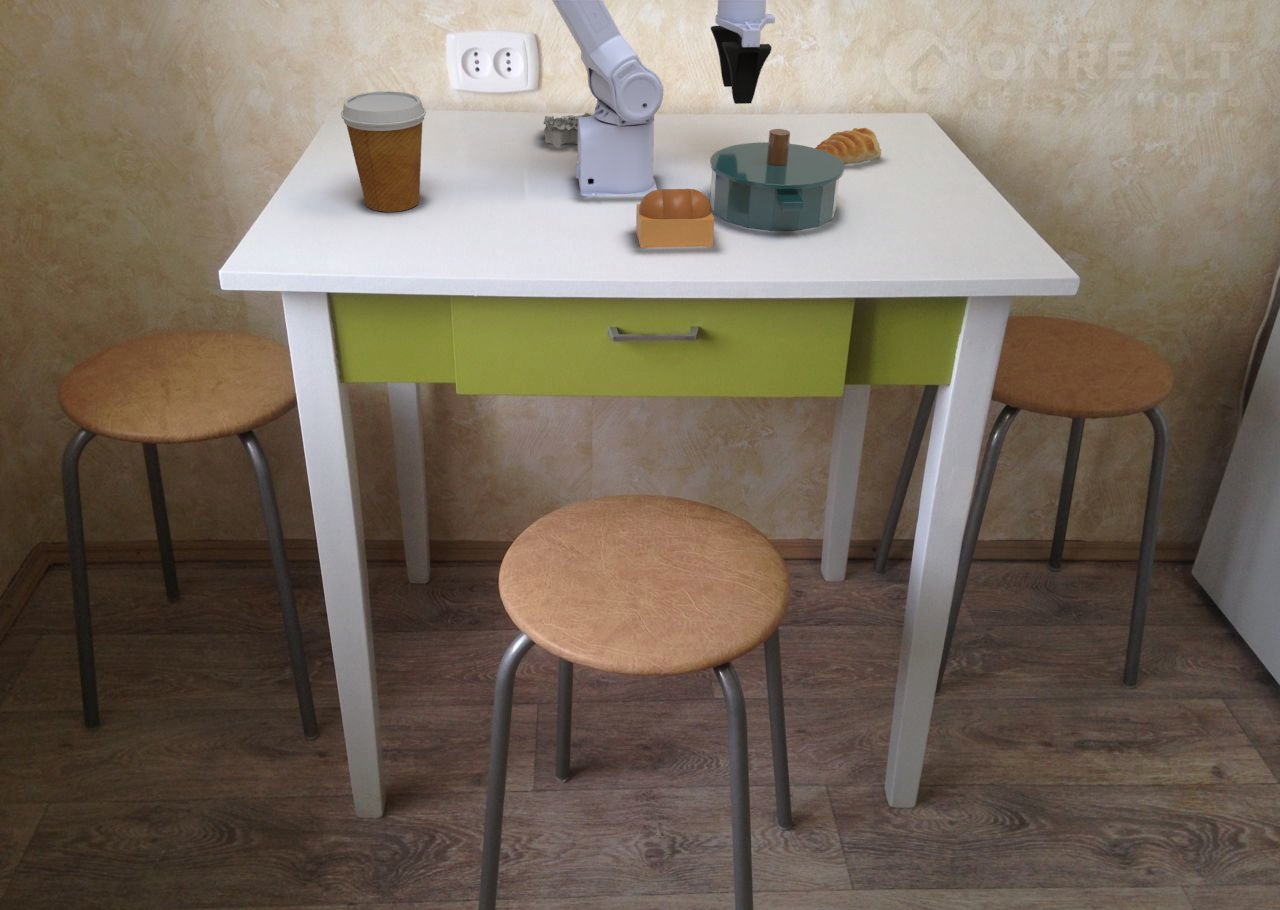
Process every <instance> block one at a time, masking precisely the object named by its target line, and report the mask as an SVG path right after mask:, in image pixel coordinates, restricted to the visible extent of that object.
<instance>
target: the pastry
mask: <svg viewBox="0 0 1280 910" xmlns="http://www.w3.org/2000/svg"><path fill="white" fill-rule="evenodd" d="M814 148H815V149H819V150H822V151H825V152H828V153H830V154H832V155H834V156H836V157H837V158H839V159H840V160H841V161H842V162H843V164H844V165H853V164H859V163H861V162H868V161H873V160H877V159H879V158H880V157H881V156H882V155H881V154H882V149H881V147H880V142H879V141H878V138H877V134H876V133H875V132H874V131H873V130H871V129H870V128H868V127H861V128H860V127H859V128H858V127H854V128H853V129H852V130H843V131H837V132H834V133H832V134H831V135H830V136H829V137H828V138H826V139H824V140H822V141H821V142H820V143H819V144H817V146H816V147H814Z"/></svg>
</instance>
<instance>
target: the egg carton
mask: <svg viewBox="0 0 1280 910" xmlns="http://www.w3.org/2000/svg"><path fill="white" fill-rule="evenodd" d="M593 115H595V113H590V112H585V113H584V114H580V115H572V114H570V115H563V116H561V117H555V116H554V115H552V116H549V115H545V116H544V119H543V125H545V127H544V143H545V144H551V145H553V146H557V147H558V146H559V147H560V146H562V145H564V144H574V145H578V118H580V117H588V116H593Z"/></svg>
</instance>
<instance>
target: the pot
mask: <svg viewBox="0 0 1280 910" xmlns="http://www.w3.org/2000/svg"><path fill="white" fill-rule="evenodd" d="M710 181H711V182H710V199H709V202H710V205H711V211H712V212H713V213H714V214H715V215H716V216H717V217H719V218H720V219H721V220H723V221H725V222H728V223H730V224H732V225H735V226H741V227H743V228H748V229H753V230H758V231H759V230H761V231H772V232H792V231H795V232H796V231H803V230H809V229H814V228H818V227H821V226H823V225H825V224H827V223H828V222H830V221H832V220H833V218H834V216H835V213H836V210H837V201H838V193H839V186H840V185H839V184H840V178H839V179H838V180H836V181H835V182H832V183H830V184H826V185H823V186H818V187H812V188H803V189H772V188H762V187H755V186H750V185H745V184H741V183H737V182H734V181H731V180H728V179H726V178H723V177H721V176H720V175H718V174H717V173H715V172H714V171H713V170H712V169H711V180H710Z"/></svg>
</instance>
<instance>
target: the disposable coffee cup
mask: <svg viewBox="0 0 1280 910" xmlns="http://www.w3.org/2000/svg"><path fill="white" fill-rule="evenodd" d="M342 108H343V109H342V111H341V112H340V117H341V119H342V120H343V122H344V125H345V126H346V130H347V133H348V137H349V141H350V145H351V149H352V153H353V158H354V161H355V165H356V169H357V174H358V177H359V183H360V186H361V190H362V196H363V200H364V203H365V206H366V208H369V209H370V210H373V211H376V212H377V211H378V212H385V213H386V212H388V213H391V212H393V213H394V212H402V211H406V210H411V209H412V208H415V207H417V206H418V205H419V204H420V191H421V189H420V188H421V187H420V185H421V167H422V164H421V163H422V143H423V142H422V141H423V136H422V135H423V122H424V120H425V116H426V114H427V110H426V109H425V107H423V103H422V99H421V98H420V97H419V96H417V95H415V94H413V93H410V92H404V91H389V90H385V91H381V90H379V91H368V92H362V93H357V94H354V95H352V96H349V97H347V98H346V99H344V100H343V107H342Z"/></svg>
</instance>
